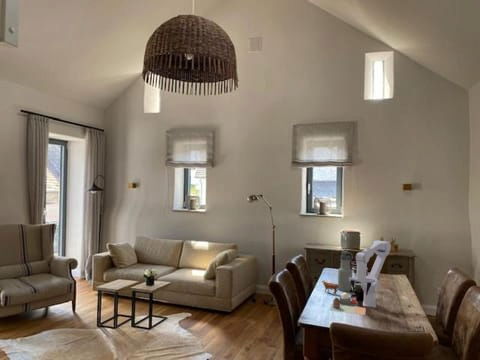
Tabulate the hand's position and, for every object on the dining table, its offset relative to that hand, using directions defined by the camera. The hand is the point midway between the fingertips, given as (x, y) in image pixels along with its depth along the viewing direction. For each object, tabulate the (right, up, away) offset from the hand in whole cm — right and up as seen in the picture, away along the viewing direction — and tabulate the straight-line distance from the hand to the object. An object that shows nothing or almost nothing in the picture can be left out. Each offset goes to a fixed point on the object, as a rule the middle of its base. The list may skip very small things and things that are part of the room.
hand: (360, 293), depth 228 cm
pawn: (-15, -9, +1) cm, 17 cm away
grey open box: (-5, -9, +10) cm, 14 cm away
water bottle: (+2, -10, +41) cm, 42 cm away
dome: (-6, -7, +10) cm, 14 cm away
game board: (-8, -9, -2) cm, 12 cm away
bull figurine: (-11, -10, +33) cm, 36 cm away
